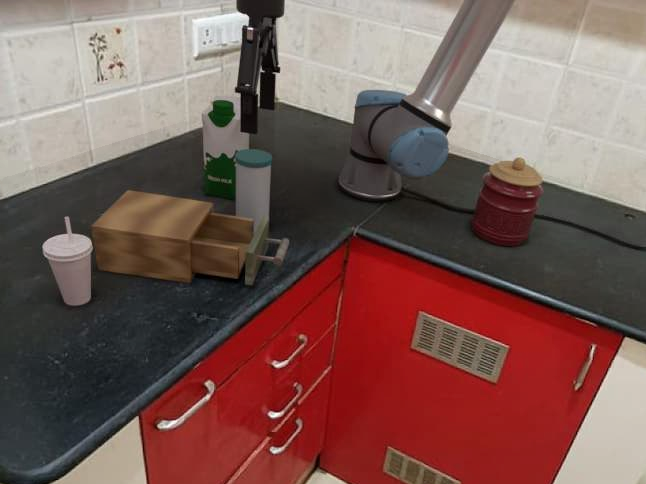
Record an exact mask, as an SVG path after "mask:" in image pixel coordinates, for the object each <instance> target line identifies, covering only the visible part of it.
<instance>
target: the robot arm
mask: <svg viewBox="0 0 646 484" xmlns="http://www.w3.org/2000/svg"><path fill="white" fill-rule="evenodd" d="M285 1H286V0H236V1H235V7H236V10H237V11H238V13H240V14H242V15H246V16H247V17H248V23H247V25H244V24H243V25H242V27H241V44H240V45H241V46H240V53H239V54H240V55H239V61H238V62H239V64H238V73H237V82H236V86H234V93H235V94H239V96H240V132H243V133H249V135H250V134H251V135H257V134H259V133H258V129H259V128H258V127H259V124H258V123H259V109H261V110H267V111H275V110H276V109H275V108H276V105H275V104H276V77H277V74H280V73H281V66H279V64H280V61H279V50H278V49H279V47H278V35H277V34H278V33H277V20H278V19H280V18H282V17H284V15H285V7H286V6H285V5H286V2H285ZM516 1H517V0H463V1H462V4H461V6H460V8H459V9H458V11H457V13H456V15H455V17H454V18H453V20H452V22H451V24H450V26H449V28H448V29H447V31H446V33H445V35H444V37H443V38H442V40H441V42H440V44H439V45H438V48H437V49H436V51H435V53H434V55H433V57H432V59H431V60H430V62H429V64H428V65H427V68H426V69H425V71H424V73H423V75H422V77H421V78H420V80H419V82H418V84H417V85H416V88H415V90H414V92H412V93H410V94H406V93H403V92H399V91H394V90H387V89H386V90H385V89H364V90H362V91H360V92H358V94H357V96H356V99H355V104H354V108H353V109H354V114H353V121H352V131H351V138H350V139H351V140H350V148H349V155H348V156H347V159H346V161H345V163H344V165H343V167H342V169H341V171H340V173H339V176H338V188H339V189H340V190H341V192H343V193H344V194H346V195H347V196H349V197H352V198H353V199H357V200H361V201H365V202H372V203H384V202H385V203H386V202H390V201H393V200H396V199H397V198H399V197H400V196H401V194H402V192H404V193H407V194H410V195H412V196H416V197H418V198H421V199H423V200H426V201H429V202H431V203H433V204H437V205H439V206H441V207H444V208H447V209H450V210H453V211H457V212H463V213H469V214H474V212H475V208H465V207H459V206H456V205H453V204H449V203H446V202H444V201H441V200H439V199H436V198H433V197H431V196H429V195H425V194H423V193H420V192H417V191H414V190H413V189H409V188H406V187H404V186H403V184H402V183H403V182H402V177H404V178H406V179H409V180H421V179H424V178H425V177H429V176H431V175H433V174H435V173H436V172H437V171H438V170H439V169H440V168H441V167H442V166H443V165H444V163H445V162H446V160H447V158H448V155H449V151H450V148H449V144H450V143H449V140H448V137H447V136H448V134H449V133H450V130H451V129H452V128H453V122H452V118H451V114H452V112H453V110H454V109H455V106H456V105H457V103H458V102H459V100H460V98H461V96H462V94H464V91H465V90H466V88H467V86H468V85H469V83H470V81H471V79H472V77H473V76H474V73H475V72H476V70H477V69H478V67H479V65H480V63H481V62H482V60H483V58H484V56H485V55H486V53H487V51H488V50H489V47H490V46H491V44H492V43H493V41H494V39H495V38H496V36H497V34H498V33H499V30H500V29H501V27H502V25H503V23H504V22H505V20H506V18H507V17H508V15H509V13H510V12H511V10H512V8H513V6H514V4H515V3H516ZM258 85H259V93H257V92H258ZM538 214H539V213H537V214H535V215H534V218H538V219H539V218H540V219H545V220H550V221H553V222H559V223H562V224H566V225H569V226H572V227H575V228H578V229H582V230H584V231H587V232H590V233H593V234H595V235H598V236H601V237H604V238H606V239H609V240H611V241H613V242H616V243H618V244H621V245H624V246H627V247H630V248H633V249H639V250H646V247H641V246H637V245H638V244H637V245H633V244H634V243H633V244H630V243H631V242H629V243H627V242H628V241H626V242H624V241H625V240H623V241H621V240H622V239H621V240H619V239H620V238H618V239H616V238H617V237H616V238H614V237H615V236H614V237H611V236H612V235H611V236H609V235H610V234H609V235H607V234H608V233H606V234H604V233H605V232H604V233H601V232H602V231H601V232H599V231H600V230H598V231H596V230H597V229H595V230H593V229H594V228H592V227H590V228H592V229H590V228H587V227H588V226H587V227H584V226H585V225H584V226H581V225H582V224H581V225H578V224H579V223H578V224H575V223H576V222H575V223H572V222H573V221H571V220H568V221H565V220H566V219H564V220H561V219H562V218H561V219H557V218H558V217H557V218H553V217H554V216H552V217H549V216H550V215H548V216H544V215H545V214H543V215H538ZM569 221H571V222H569Z"/></svg>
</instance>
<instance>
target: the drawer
mask: <svg viewBox="0 0 646 484" xmlns="http://www.w3.org/2000/svg"><path fill="white" fill-rule="evenodd" d="M253 230H254V219H251V218H245V217H238V216H236V215H232V214H231V215H230V214H225V213H224V214H223V213H218V212H217V213H216V212H214V213H211V212H210V213H209V215H208V216H207V218H206V219H205V221H204V222H203V224H202V225H201V227H200V228H199V230H198V231H197V233H196V234H195V236H194V237H193V239H192V240H191V242H190V250H191V272H195V273H196V274H202V275H203V274H204V275H209V276H216V277H223V278H229V279H237V280H238V279H239V278H240V275H241V273H242V271H243V269H244V268H245V269H244V272H245V273H244V284H245V286H246V285H247V286H253V284H254V282H255V280H256V277H257V275H258V273H259V270H260V268H261V265H262V264H263V261H264V262H265V261H266V262H272V263H273V264H274V265H275V266H278V267H279V266H282V265H283V263H284V260H285V257H286V254H287V251H288V249H289V246H290V239H289V238H288V237H283V238H282V239H277V238H269V233H270V217H269V218H268V217H262V219H261V221H260V224H259V226H258V228H257V230H256V232H255V234H254V235H253ZM269 244H275V245H278V248H277V250H276V253H275V255H274V256H269V255H268V256H266V253H267V251H268V249H269Z"/></svg>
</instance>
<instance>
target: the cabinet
mask: <svg viewBox="0 0 646 484" xmlns="http://www.w3.org/2000/svg"><path fill="white" fill-rule="evenodd" d="M214 204H215V203H214V202H210V201H203V200H196V199H189V198H184V197H183V198H182V197H177V196H169V195H164V194H156V193H150V192H144V191H137V190H130V189H127V190H126V192H124V194H122V195H121V196H120V197H119V198H118V199H117V200H116V201H115V202H114V203H113V204H112V205H111V206H110V207H109V208H108V209H107V210H106V211H105V212H104V213H103V214H101V216H100V217H99V218H98V219H96V221H94V223H92V225H91V226H90V228H91V234H92V240H93V246H94V247H93V248H94V252H95V253H94V254H95V258H96V260H95V261H96V265H97V270H98V271H104V272H112V273H118V274H124V275H131V276H138V277H145V278H152V279H159V280H166V281H173V282H179V283H187V284H191V283H192V281H193V280H194V278H195V276H196V275H197V273H195V272H191V250H190V242H191V240H192V239H193V237H194V236H195V234H196V233H197V231H198V230H199V228H200V227H201V225H202V224H203V222H204V221H205V219H206V218H207V216H208V215H209V213H210V212H211V213H215V207H214V206H215V205H214Z"/></svg>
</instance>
